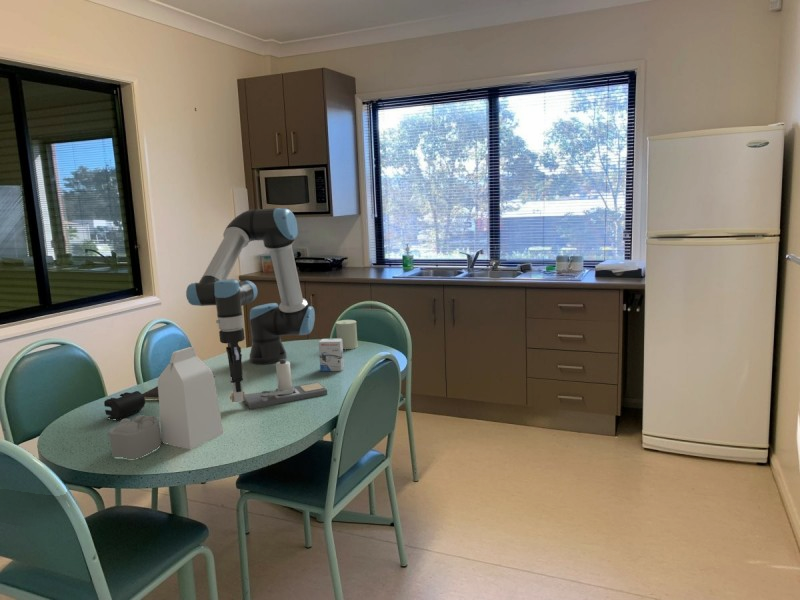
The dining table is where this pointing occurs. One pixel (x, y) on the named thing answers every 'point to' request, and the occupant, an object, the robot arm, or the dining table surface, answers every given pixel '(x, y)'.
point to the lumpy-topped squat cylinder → (135, 437)
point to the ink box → (331, 355)
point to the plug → (284, 376)
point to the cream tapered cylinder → (347, 333)
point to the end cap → (124, 405)
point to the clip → (263, 394)
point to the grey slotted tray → (288, 396)
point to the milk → (188, 401)
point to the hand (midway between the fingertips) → (238, 400)
